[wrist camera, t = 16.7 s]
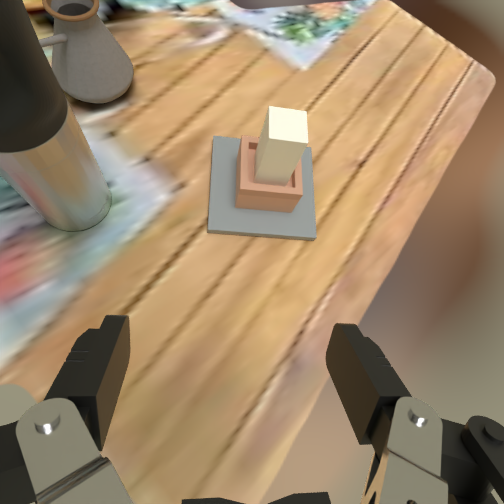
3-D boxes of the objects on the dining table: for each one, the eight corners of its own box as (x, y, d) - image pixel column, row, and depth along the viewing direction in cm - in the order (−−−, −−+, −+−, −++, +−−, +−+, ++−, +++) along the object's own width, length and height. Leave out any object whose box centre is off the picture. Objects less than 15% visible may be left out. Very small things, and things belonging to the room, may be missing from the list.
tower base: (207, 232, 47) (209, 212, 40) (213, 140, 52) (215, 109, 46) (313, 240, 49) (331, 222, 43) (308, 151, 55) (323, 124, 48)
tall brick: (253, 183, 45) (269, 138, 36) (254, 155, 46) (269, 105, 37) (285, 186, 45) (308, 143, 37) (285, 159, 47) (306, 111, 38)
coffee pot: (89, 46, 54) (52, -66, 40) (150, 78, 54) (135, -22, 40) (-4, 135, 46) (-89, 35, 32) (68, 172, 46) (13, 89, 32)
